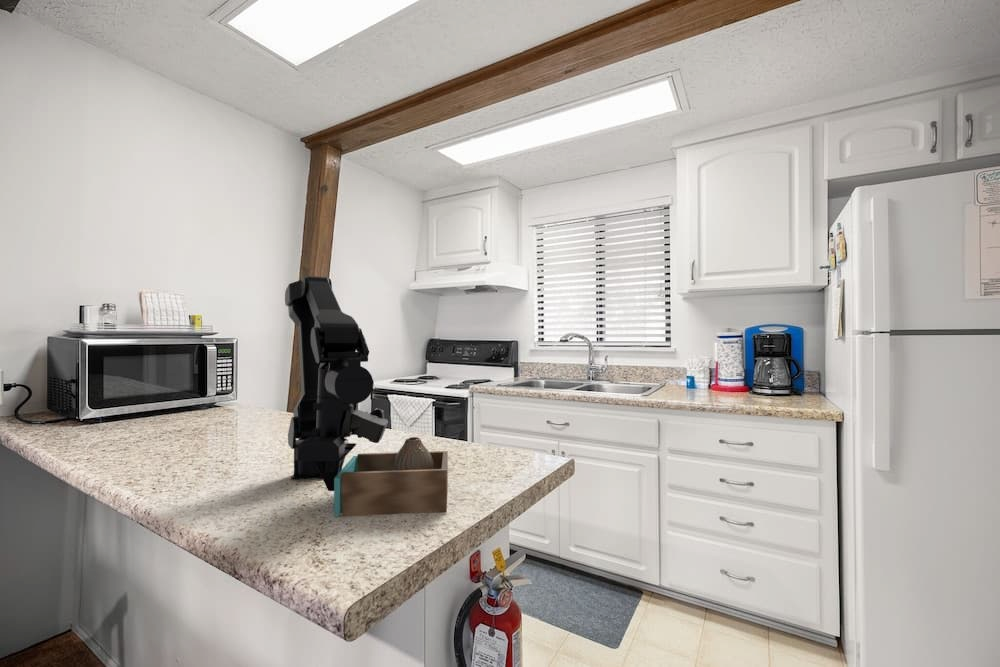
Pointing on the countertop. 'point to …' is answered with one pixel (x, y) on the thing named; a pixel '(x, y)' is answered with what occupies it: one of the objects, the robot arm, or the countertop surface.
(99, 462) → the countertop surface
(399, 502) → the caddy
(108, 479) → the countertop surface
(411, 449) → the vase
